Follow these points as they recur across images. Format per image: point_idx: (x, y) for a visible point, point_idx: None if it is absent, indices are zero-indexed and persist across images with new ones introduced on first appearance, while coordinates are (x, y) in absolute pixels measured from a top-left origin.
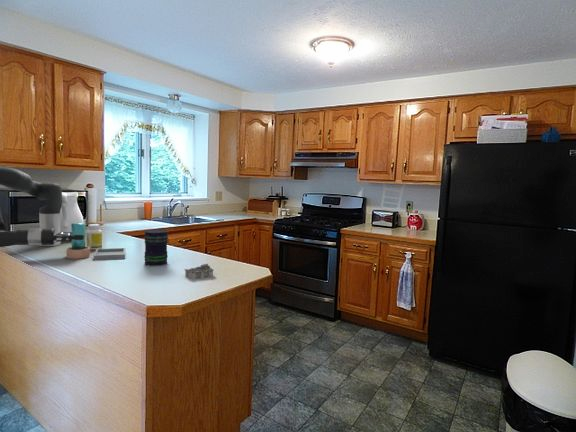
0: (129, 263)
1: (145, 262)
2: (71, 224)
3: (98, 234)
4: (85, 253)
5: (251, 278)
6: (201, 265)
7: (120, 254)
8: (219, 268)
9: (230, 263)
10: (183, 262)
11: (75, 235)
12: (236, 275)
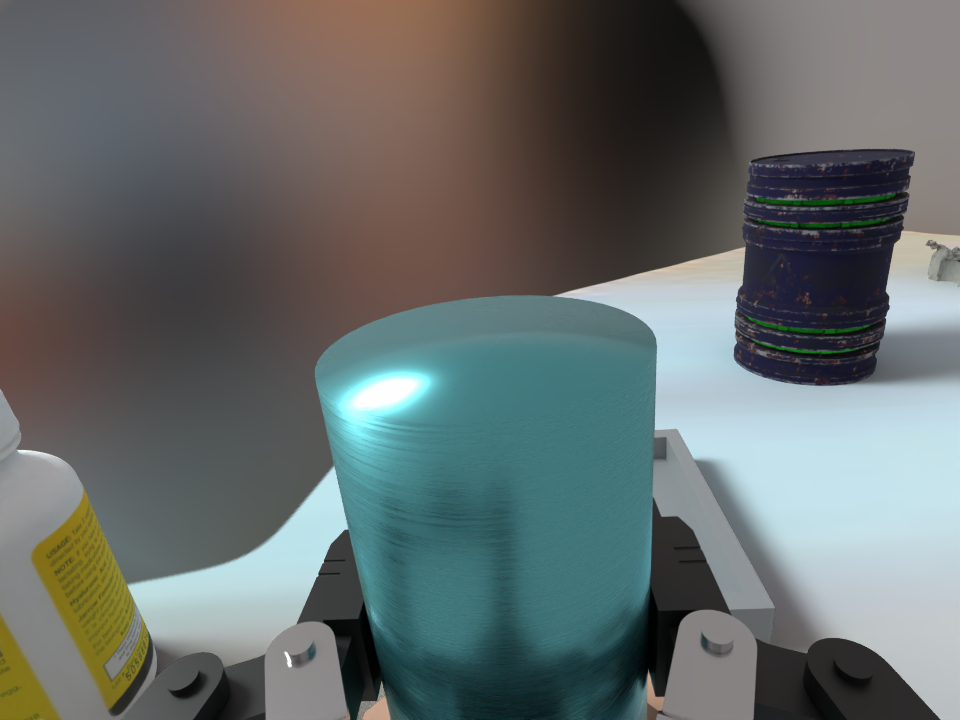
0: (844, 431)
1: (850, 370)
2: (540, 430)
3: (88, 501)
4: None
5: (954, 238)
6: (949, 250)
7: (683, 446)
8: None
9: (743, 259)
10: None
11: (689, 598)
12: (930, 249)
